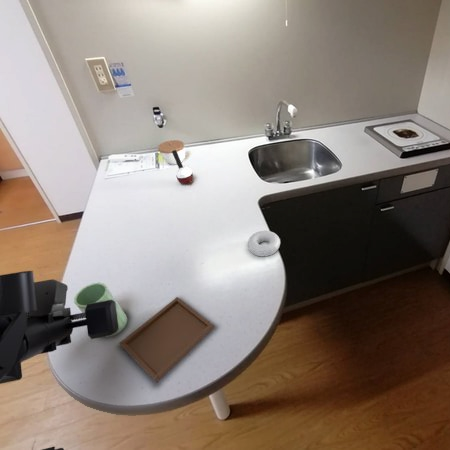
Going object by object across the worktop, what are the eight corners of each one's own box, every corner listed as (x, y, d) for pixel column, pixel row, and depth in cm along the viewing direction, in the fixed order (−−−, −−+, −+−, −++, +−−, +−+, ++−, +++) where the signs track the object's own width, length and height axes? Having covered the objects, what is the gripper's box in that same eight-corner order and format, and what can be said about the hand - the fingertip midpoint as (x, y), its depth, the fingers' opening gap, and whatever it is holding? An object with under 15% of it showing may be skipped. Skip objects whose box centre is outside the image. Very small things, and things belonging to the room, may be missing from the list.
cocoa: (194, 186, 121) (186, 159, 113) (177, 189, 120) (169, 161, 112) (194, 174, 128) (187, 148, 120) (179, 176, 127) (171, 150, 119)
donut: (256, 233, 100) (242, 254, 92) (255, 225, 97) (241, 246, 90) (285, 240, 97) (273, 261, 90) (284, 232, 95) (272, 253, 88)
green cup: (107, 341, 71) (82, 312, 63) (93, 327, 74) (68, 297, 66) (132, 322, 75) (112, 291, 67) (118, 309, 78) (98, 278, 70)
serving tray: (156, 383, 64) (154, 379, 63) (122, 346, 70) (119, 343, 69) (214, 328, 73) (212, 324, 72) (178, 300, 80) (177, 296, 78)
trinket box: (183, 153, 143) (178, 134, 137) (191, 162, 136) (186, 142, 130) (160, 160, 138) (153, 140, 132) (167, 169, 132) (160, 149, 125)
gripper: (88, 275, 49) (127, 270, 65) (-47, 298, 46) (27, 287, 61) (97, 344, 49) (134, 323, 64) (-40, 373, 45) (34, 342, 61)
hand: (83, 317), depth 62 cm, fingers open, 9 cm apart
